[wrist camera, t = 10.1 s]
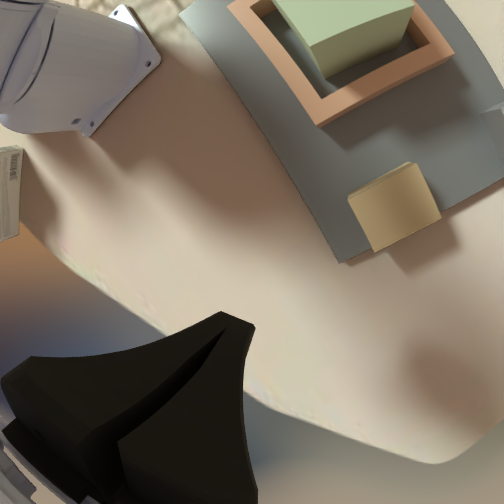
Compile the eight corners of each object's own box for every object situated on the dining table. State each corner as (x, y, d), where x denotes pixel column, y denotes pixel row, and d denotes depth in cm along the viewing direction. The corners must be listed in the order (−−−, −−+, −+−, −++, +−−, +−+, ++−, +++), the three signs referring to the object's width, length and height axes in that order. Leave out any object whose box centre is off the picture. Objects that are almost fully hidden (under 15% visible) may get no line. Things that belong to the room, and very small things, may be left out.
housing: (339, 259, 19) (335, 283, 16) (184, 17, 17) (154, 0, 13) (528, 158, 13) (558, 163, 9) (354, -77, 10) (350, -107, 7)
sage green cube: (324, 79, 15) (309, 46, 10) (281, 16, 14) (249, -31, 9) (398, 47, 13) (415, 5, 8) (351, -15, 12) (345, -70, 7)
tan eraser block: (372, 239, 17) (374, 252, 15) (348, 193, 17) (347, 200, 14) (430, 208, 15) (441, 218, 13) (407, 161, 15) (416, 163, 13)
